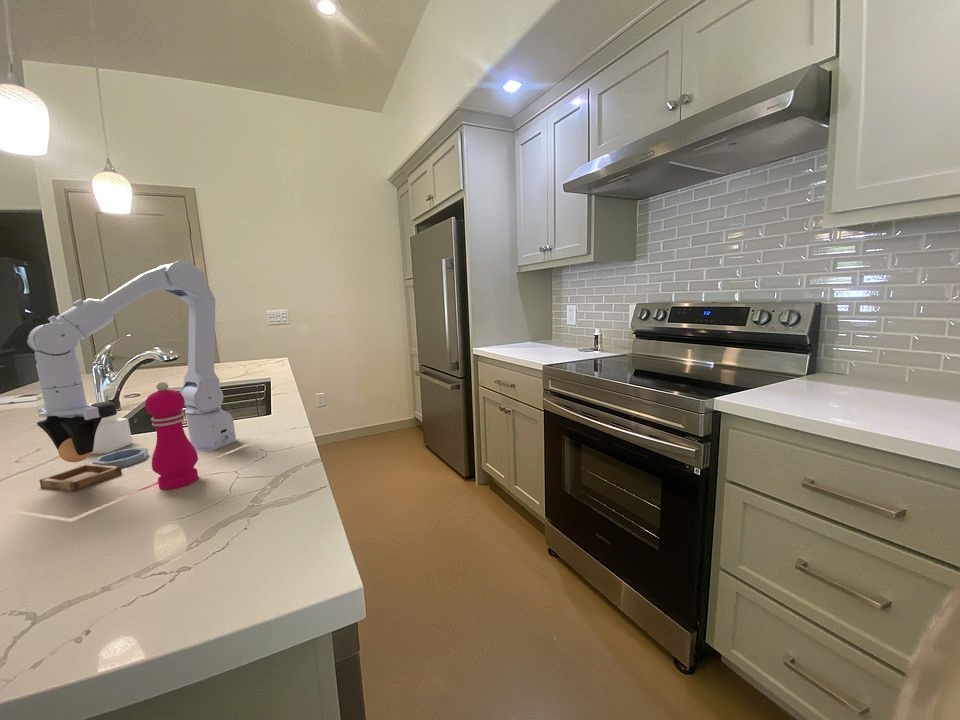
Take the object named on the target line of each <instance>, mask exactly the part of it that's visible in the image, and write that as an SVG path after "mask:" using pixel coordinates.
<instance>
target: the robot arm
mask: <svg viewBox="0 0 960 720" xmlns="http://www.w3.org/2000/svg"><path fill="white" fill-rule="evenodd" d="M161 290H163V291H165V292H168V293H170V294H172V295H175V296H177V297H178V298H179V299H180V300H182V302H184V303H185V304H186V305H188V340H187V341H188V346H187V347H188V348H187V349H188V350H187V351H188V352H187V372H186V373H185V375H184V377H183V383H182V384H183V385H182V387H181V389H180V390H179V391H178V392H179V393H180V394H182V396H183V397H184V400H185V405H184V407H185V406H186V407H185V411H184V412H185V418H186V423H187V424H186V425H187V431H188V435H189V441H190V443H191V444H192V445H193V446H194V448H195V450H196V451H206V452H212V451H215V450H217V449H219V448H222V447H225V446H227V445H230V444H232V443H235V442H237V441H239V440H240V439H239V438H236V437H237V436H236V431H235V425H234V424H235V423H234V418H233V416H232V415H231V413H230V412H228V411H225V410H223V409H222V408H221V405H222V403H223V401H224V393H223V391H222V389H221V386H220V378H219V377H218V375H217V374H216V372H215V350H216V349H215V345H216V344H215V342H216V340H215V339H216V336H215V335H216V334H215V333H216V297H215V295H214V294H213V292H212V290H211V288H210V286H209V284H208V283H207V281H206V277H205V272H203V271H202V270H201V269H200V268H198V266H196V265H195V264H193V263H192V262H189V261H186V260H177V261H175V262H172V263H165V264H161V265H159V266H157V267H156V268H153V269H150V270H148V271H145V272H143V273H141V274H139V275H137V276H136V277H134V278H133V279H131V280H129V281H127V282H126V283H125V284H123V285H121V286H119V287H118V288H117V289H115V290H114V291H112V292H111V293H109V294H107V295H105V297H102V298H101V299H95V298H87V299H84V300H82V299H77V300H75V301H73V303H72V304H73V306H72V307H70V308H69V309H67V310H66V311H64V312H62V313H61V314H59V315H57V316H56V315H52V316H50V317H48V318H47V320H48V321H49V323H46V324H45V323H44V324H41V325H38V326H36V327H34V328H33V329H32V330H31V331H30V332H29V334H28V337H27V340H26V343H27V345H28V347H29V348H31V349H32V350H33V351H34V359H35V361H36V365H35V367H36V371H37V376H38V380H39V385H40V390H41V393H42V399H43V404H44V406H41V407H38V408H36V410H37V415H38V417H39V418H45V419H44V420H40V421H39V420H38V421H37V422H36V425H37V426H38V427H39V428H40V429H42V430H43V431H44V432H45V434H46V435H48V437H49V439H50V440H51V441H52V443H53V445H54V446H55V448H56V450H57V451H58V449H59V446H60V445H61V444H62V443H63V442H64V441H65V440H67V439H69V438H71V439H72V442H73V445H74V447H75V450H76V452H77V454H78V455H84V454H87V453H90V452H93V447H94V439H95V434H96V430H97V427H98V425H99V423H100V421H101V420H102V418H101V416H99V411H98V408H97V407H92V406H90V405H89V404H88V403H87V399H86V393H85V389H84V383H83V379H82V374H81V370H80V364H79V360H78V359H77V356H76V348H77V347H78V343H79V341H83V340H85V339H87V338H88V337H91V335H93V334H96V333H97V332H98V331H99V330H101V329H103V328H105V327H106V326H107V325H109V324H111V323H112V322H114V319H115V312H117V311H119V310H121V309H122V308H124V307H125V306H127V305H128V304H131V303H133V302H135V301H136V300H137V299H140V298H141V297H143V296H145V295H146V294H148V293H150V292H153V291H161Z"/></svg>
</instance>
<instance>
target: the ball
mask: <svg viewBox="0 0 960 720" xmlns="http://www.w3.org/2000/svg"><path fill="white" fill-rule="evenodd" d="M57 452H58V456H59V458H60V459H62V460H63V461H65V462H68V463H79V462H82V461H85V460H86V459H88V458H89V457H90V456H91V455H92V454H91V453H92V452H90V453H87V454H84V455H78V454H77V452H76V450H75V447H74V445H73V442H72V439H71V438H69V439H67V440H65V441H64V442H63V443H62V444H61V445H60V446H59V449H58V450H57Z"/></svg>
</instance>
